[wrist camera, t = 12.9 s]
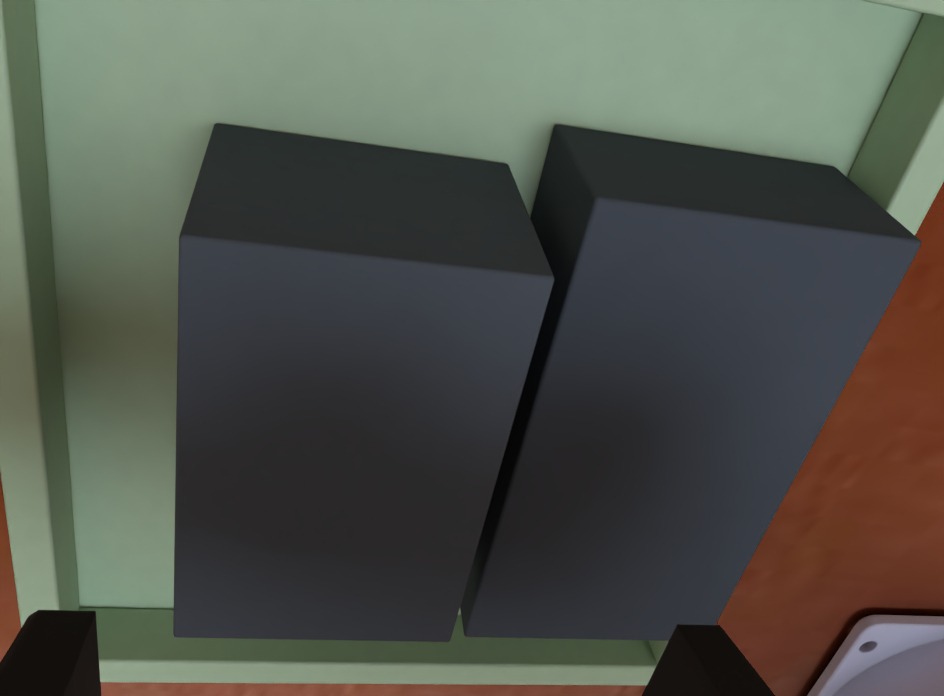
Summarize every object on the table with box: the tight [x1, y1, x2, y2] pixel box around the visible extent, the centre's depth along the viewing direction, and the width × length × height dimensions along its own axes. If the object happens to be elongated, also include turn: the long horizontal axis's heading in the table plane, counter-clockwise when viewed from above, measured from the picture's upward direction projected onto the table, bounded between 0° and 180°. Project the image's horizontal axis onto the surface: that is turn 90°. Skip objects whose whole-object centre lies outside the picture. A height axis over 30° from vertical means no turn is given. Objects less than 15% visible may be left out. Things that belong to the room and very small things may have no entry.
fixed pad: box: [460, 125, 921, 641], centre depth 17 cm, size 10×6×3 cm, turn 169°
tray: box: [0, 0, 944, 685], centre depth 17 cm, size 18×16×2 cm
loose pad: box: [173, 123, 554, 642], centre depth 15 cm, size 8×5×4 cm, turn 169°
